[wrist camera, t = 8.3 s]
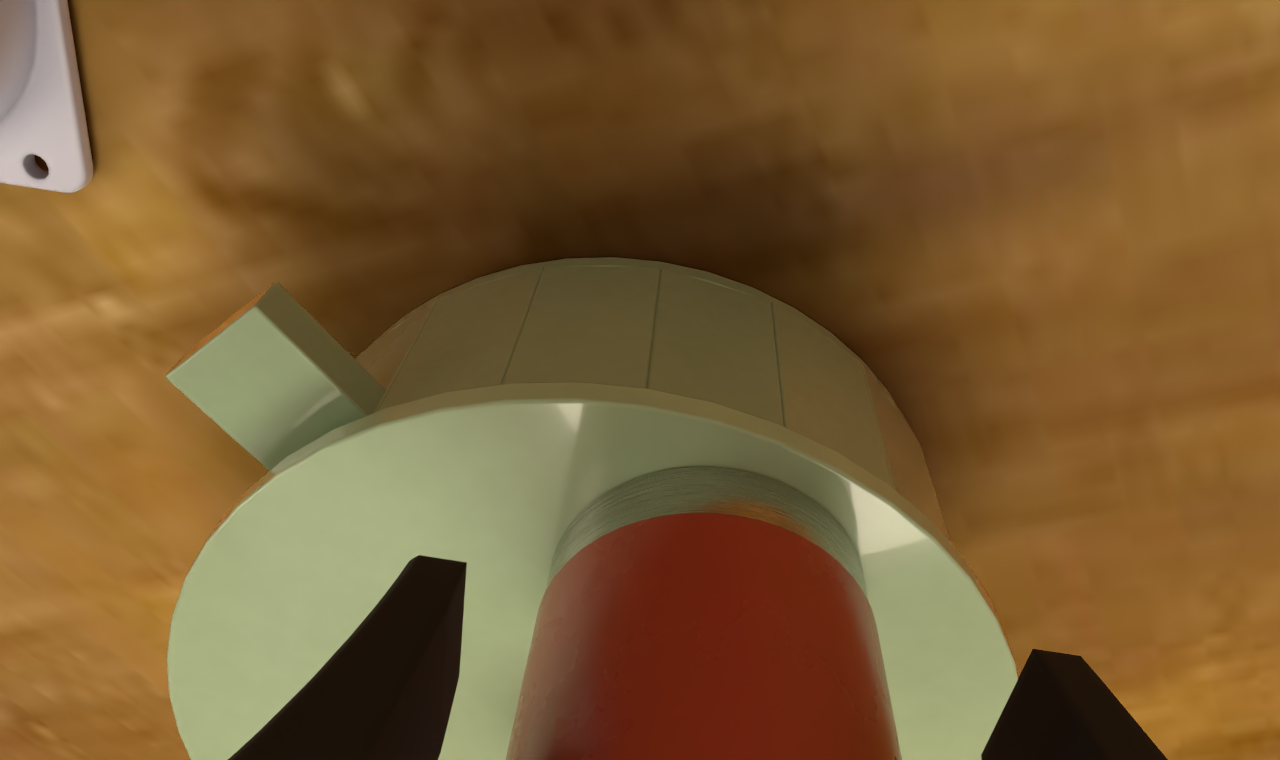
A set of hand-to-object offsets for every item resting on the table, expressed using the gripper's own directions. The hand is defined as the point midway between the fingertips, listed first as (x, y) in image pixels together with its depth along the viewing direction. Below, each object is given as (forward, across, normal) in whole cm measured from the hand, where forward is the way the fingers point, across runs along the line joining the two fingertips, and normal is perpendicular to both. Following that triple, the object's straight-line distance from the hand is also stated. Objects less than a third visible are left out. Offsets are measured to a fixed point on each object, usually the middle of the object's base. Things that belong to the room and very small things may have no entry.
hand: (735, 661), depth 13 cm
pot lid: (+4, +2, +7) cm, 8 cm away
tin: (+4, 0, +2) cm, 4 cm away
